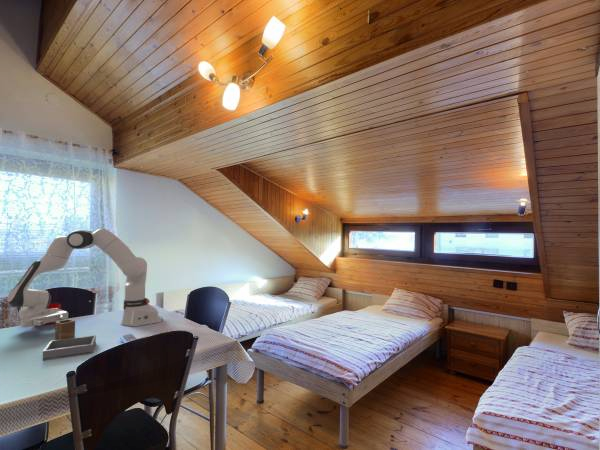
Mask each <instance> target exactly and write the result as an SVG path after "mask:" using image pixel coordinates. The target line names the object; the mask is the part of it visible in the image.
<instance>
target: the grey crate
mask: <svg viewBox="0 0 600 450" xmlns="http://www.w3.org/2000/svg"><path fill="white" fill-rule="evenodd" d="M96 337H97V334H96V335H86V336H81V337H75V338H70V339H61V340H55V339H54V340H50V341H49V342H48V343H47V345H46V346H45V347H44V349H42V361H48V360H56V359H63V358H70V357H77V356H83V355H90V354H93V352H94V349H95V347H96V344H97V343H96V342H97V338H96Z"/></svg>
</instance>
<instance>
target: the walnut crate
mask: <svg viewBox="0 0 600 450" xmlns="http://www.w3.org/2000/svg"><path fill="white" fill-rule="evenodd" d="M54 322H55V326H54V328H55V329H54V335H55V336H54V340H61V339H70V338H76V321H75V320H74V319H70V318H67V319H64V320H62V321H60V320H59V321H54Z"/></svg>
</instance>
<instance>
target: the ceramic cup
mask: <svg viewBox="0 0 600 450" xmlns="http://www.w3.org/2000/svg"><path fill="white" fill-rule="evenodd" d="M61 307H62V305H61V304H60V303H50V305H49V307H48V308H47V309H51V308H58V309H59V310H63V308H61ZM53 323H54V322H49V323H45V324H44V325H49V324H53Z"/></svg>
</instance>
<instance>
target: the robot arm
mask: <svg viewBox="0 0 600 450" xmlns="http://www.w3.org/2000/svg"><path fill="white" fill-rule="evenodd" d="M94 246H96V247H97V248H99V249H100V250H101V251H102V252H103V253H104V254H105V255H106V256H107V257H108V258H109V259H111V260H112V261H113V262H114V263H115V265H116V266H117V268H119V270H120V271H121V272H122V273H123V275H124V276H125V277H126V278H125V285H124V299H123V302H122V303H123V305H122V306H123V313H122V320H121V323H120V324H121V325H122V326H127V327H128V326H129V327H138V326H139V327H140V326H145V325H151V324H157V323H161V322H162V321H163V316H161V315H159V312H158V310H157V308H156V307H154V306H152V305H151V304H150V299H149V298H148V297H146V282H147V273H148V263H147V260H146V259H144V258H143V257H140V256H136V255H135V254H134V253H133V251H132V250H131V249H130V247H129V246H127V245H126V244H125V243H124V242H123V241H122V240H121V239H120V238H119V237H118V236H116V235H115V234H114V232H111V230H109V229H107V228H98V229H97V230H95V231H91V230H86V229H77V230H76V229H75V230H73V231H71V232H70V233H68V234H67V236H66V235H64V236H63V235H58V236H56V237H54V239H53V240H52V242H50V244H49V246H48V247H47V250H46V252H45V253H44V255H43V256H42V257H41V258H39V259H37V260H35V261H34V262H32V264H31V265H30V266H29V267H28V269H27V270H26V272H25V273H24V274H23V276H22V277H21V278H20V279H19V281H18V283H17V284H16V285H15V286H14V288H13V289H11V290H10V292H9V293H8V296H7V298H6V301H7V304H8V305H9V306H11V307H12V308H20V309H19V310H18V313H17V315H18V318H19V320H17V321H16V323H17V324H20V327H22V328H28V327H33V326H36V327H39V326H43V325H46V324H45V323H49V322H53V323H54V322H58V321H62V320H67V319H69V312H68V311H66V310H63V309H62V310H59V309H58V308H51V309H47V308H48V307H49V305H50V304H51V302H52V295H51V293H50V291H48V290H43V289H32V288H29V287H30V285H31V284H32V282H33V281H34V279H35V278H36V277H37V276H39V275H41V274H44V273H47V272H49V273H50V272H53V271H59V270H61V269H62V268H64V267H65V266H66V265H67V263H68V261H69V259H70V257H71V254H72V253H73V251H74V250H85V249H90V248H92V247H94ZM21 307H22V308H21Z"/></svg>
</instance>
